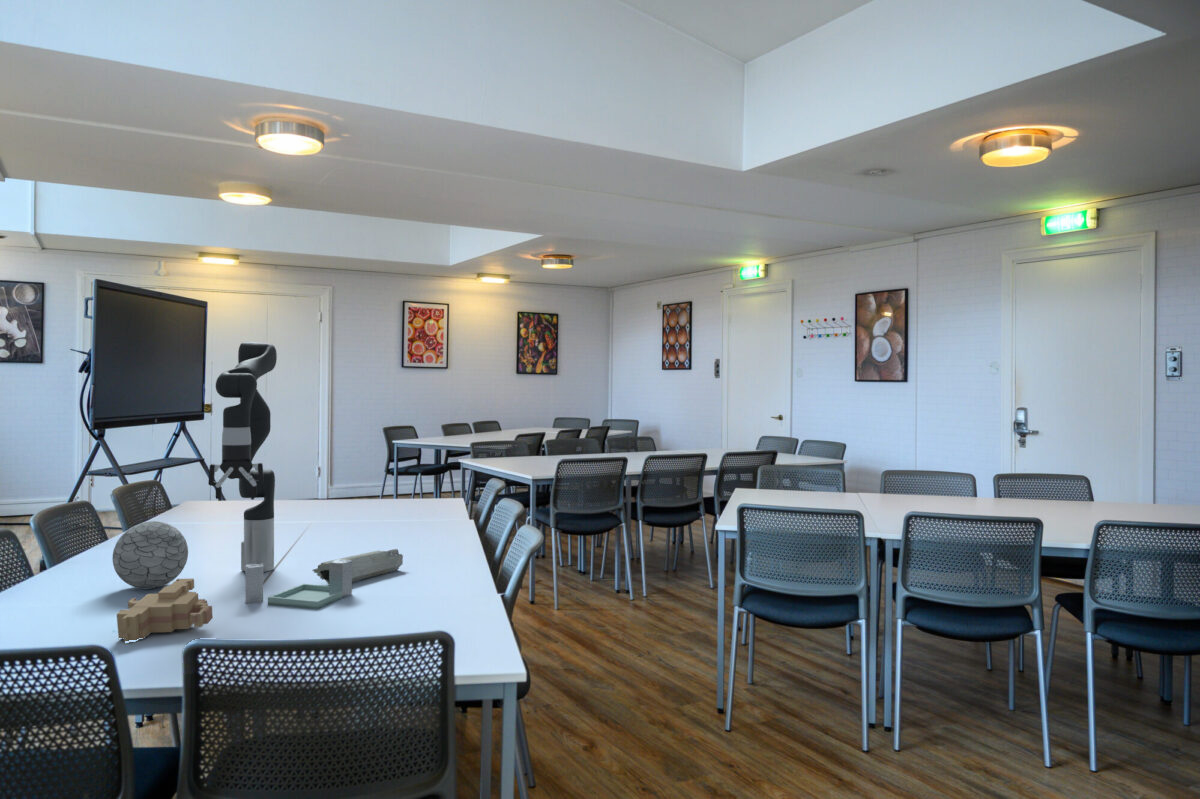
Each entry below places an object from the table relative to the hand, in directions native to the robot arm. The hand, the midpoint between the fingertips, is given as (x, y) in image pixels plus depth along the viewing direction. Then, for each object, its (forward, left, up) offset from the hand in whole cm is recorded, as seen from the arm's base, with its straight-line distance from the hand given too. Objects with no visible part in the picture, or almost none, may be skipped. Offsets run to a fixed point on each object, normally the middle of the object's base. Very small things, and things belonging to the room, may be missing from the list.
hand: (236, 499), depth 227 cm
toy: (+5, -30, -29) cm, 42 cm away
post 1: (+6, 0, -29) cm, 29 cm away
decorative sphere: (-33, +3, -29) cm, 44 cm away
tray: (+20, +6, -28) cm, 35 cm away
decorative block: (+20, +32, -29) cm, 48 cm away
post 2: (+26, +12, -28) cm, 40 cm away
